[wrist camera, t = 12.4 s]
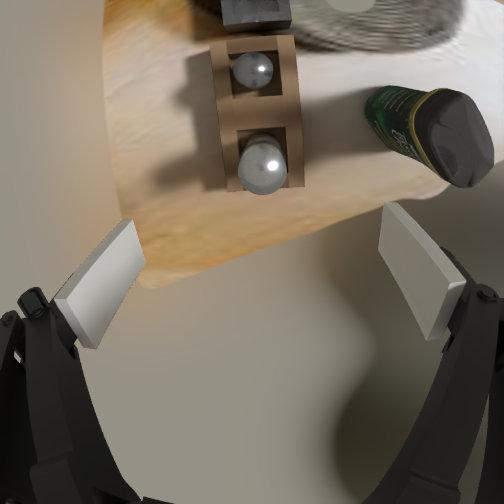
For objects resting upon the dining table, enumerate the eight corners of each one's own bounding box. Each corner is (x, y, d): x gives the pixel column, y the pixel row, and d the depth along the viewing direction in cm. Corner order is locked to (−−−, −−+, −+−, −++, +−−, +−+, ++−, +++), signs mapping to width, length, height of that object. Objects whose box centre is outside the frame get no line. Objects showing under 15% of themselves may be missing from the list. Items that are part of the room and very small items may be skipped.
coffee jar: (353, 109, 33) (419, 122, 17) (390, 77, 29) (471, 76, 14) (392, 159, 36) (465, 208, 20) (426, 129, 33) (510, 162, 17)
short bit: (239, 63, 30) (231, 54, 23) (270, 60, 29) (271, 50, 22) (242, 91, 32) (235, 89, 25) (273, 88, 31) (274, 85, 24)
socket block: (223, -13, 24) (218, -24, 20) (282, -17, 23) (284, -30, 19) (228, 33, 28) (223, 25, 24) (289, 28, 27) (291, 20, 23)
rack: (215, 48, 29) (209, 42, 26) (290, 41, 28) (293, 34, 25) (231, 183, 39) (228, 192, 36) (301, 178, 38) (304, 186, 35)
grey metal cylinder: (243, 132, 34) (233, 149, 23) (279, 129, 34) (286, 145, 23) (247, 165, 37) (239, 198, 26) (282, 162, 36) (289, 194, 25)
